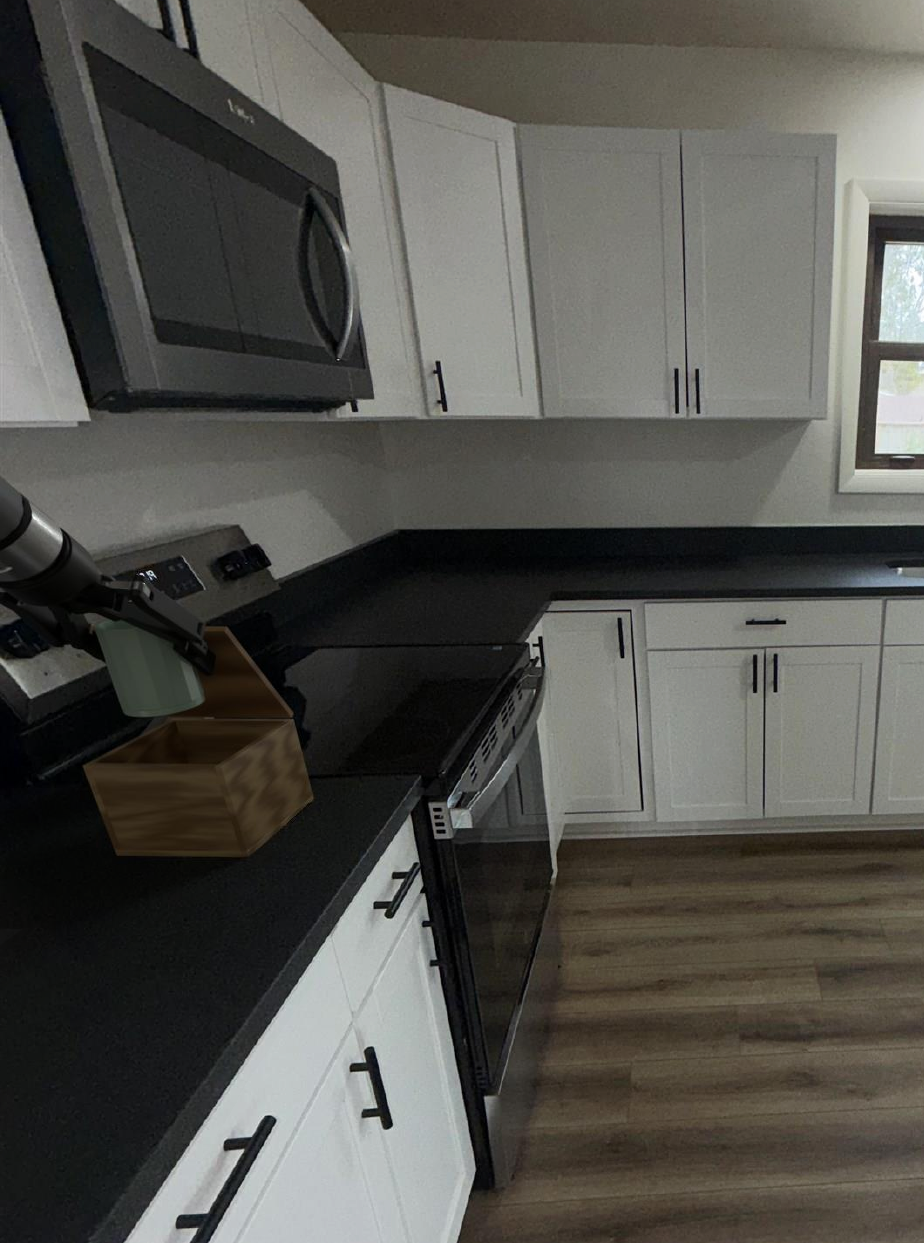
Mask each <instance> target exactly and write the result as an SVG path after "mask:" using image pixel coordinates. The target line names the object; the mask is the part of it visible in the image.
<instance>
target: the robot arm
mask: <svg viewBox="0 0 924 1243" xmlns="http://www.w3.org/2000/svg"><path fill="white" fill-rule="evenodd" d="M0 605H1V606H3V607H5V608H7V609H9V610H11V611H12V612H13V613H14V614H16V615H17V616H18V617H19V618H20V619H21V620H22V621H23V622H24V623H25V624H27V625H28V626H29V627H30V628H31V629H32V630H33V631H34V632H36V633H37V634H38V635H39V636H40V637H41V638H42V639H43V640H44V641H45V642H46V643H48V645H49V646H52V647H53V648H63V647H64V646H65V645H70V646H71V648H72V649H75V650H79V651H84V652H85V653H86V654H88V655H90V656H91V657H92V658H94V659H96V660H99V661H101V662H102V663H103V664H106V662H105V659H104V657H103V654H102V651H101V648H100V645H99V642H98V639H97V636H96V633H95V631H94V630H93V632H92V635H91V634H90V633H89V632H90V628H91V626H92V622H90V623H89V622H88V621H87V618H86V616H85V614H96V615H98V616H100V617H102V618H104V619H106V620H108V619H109V620H112V621H114V622H117V621H120V620H122V621H124V622H127V623H129V624H131V625H133V626H135V627H138V628H140V629H142V630H144V631H147V632H149V633H151V634H153V635H155V636H158V637H160V638H162V639H164V640H167V641H169V642H171V643H173V644H174V646H173V649H174V650H175V651H176V652H177V653H179V654H180V655H181V656H182V657H183V658H185V659H186V660H187V661H188V662H190V663H191V664H192V665H193V666H195V667H196V668H197V669H198V670H199V671H201V672H202V673H203V674H204V675H206V676H213V671H214V665H215V660H216V655H215V654H214V653H213V652H212V651H211V650H209V649H208V644H207V643H206V642H204V640H203V635H204V630H205V627H206V624H207V623H206V621H205V620H203V619H202V618H200V617H199V616H197V615H196V614H194V613H193V612H191V610H188V609H187V608H186V607H184V606H183V605H181V604H180V603H178V602H177V601H176V600H174V599H173V598H171V597H170V596H168V595H167V594H165V593H163V591H161V590H159V589H158V588H156V587H155V585H153V583H152V582H151V581H150V579H148V577H147V576H145V575H142V574H133V576H132V579H131V580H120V579H119V580H118V579H116V578H115V577H114V576H112V575H111V574H108V573H106V572H104V571H102V570H100V569H99V568H98V567H97V565H96V563H95V561H94V560H93V556H91V553H90V552H89V551H88V549H87V548H86V547H85V546H83V545H82V544H81V543H80V542H78V541H77V540H76V539H75V538H74V537H73V536H71V535H70V534H69V533H68V532H67V531H66V530H65V529H63V528H61V527H60V526H59V524H58V523H56V521H55V520H54V519H52V518H51V517H50V516H49V515H48V514H47V513H45V512H44V511H43V510H42V509H40V507H38V506H37V505H36V504H35V503H33V502H32V501H31V500H30V499H28V498H27V497H26V496H25V495H24V494H22V492H20V491H19V490H18V489H16V488H15V487H14V486H13V485H11V484H10V483H9V482H8V481H7V480H6V479H4V477H3V476H1V475H0Z"/></svg>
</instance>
